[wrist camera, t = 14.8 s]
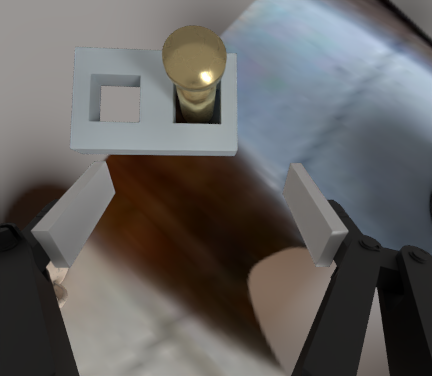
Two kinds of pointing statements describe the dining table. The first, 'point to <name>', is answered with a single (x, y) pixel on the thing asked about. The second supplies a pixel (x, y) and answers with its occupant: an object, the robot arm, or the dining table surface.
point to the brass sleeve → (195, 70)
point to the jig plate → (145, 107)
